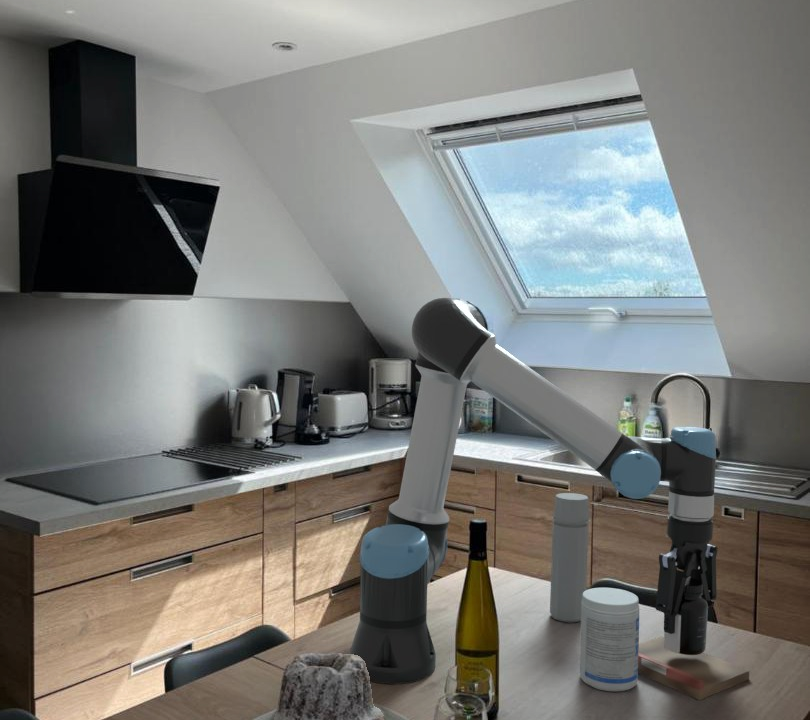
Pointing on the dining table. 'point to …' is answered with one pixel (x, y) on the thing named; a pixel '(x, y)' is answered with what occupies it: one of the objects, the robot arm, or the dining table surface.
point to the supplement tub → (609, 639)
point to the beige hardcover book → (688, 670)
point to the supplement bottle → (693, 618)
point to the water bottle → (569, 556)
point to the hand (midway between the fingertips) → (684, 645)
